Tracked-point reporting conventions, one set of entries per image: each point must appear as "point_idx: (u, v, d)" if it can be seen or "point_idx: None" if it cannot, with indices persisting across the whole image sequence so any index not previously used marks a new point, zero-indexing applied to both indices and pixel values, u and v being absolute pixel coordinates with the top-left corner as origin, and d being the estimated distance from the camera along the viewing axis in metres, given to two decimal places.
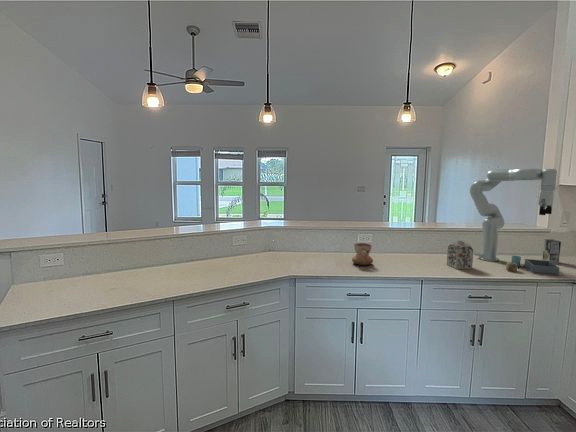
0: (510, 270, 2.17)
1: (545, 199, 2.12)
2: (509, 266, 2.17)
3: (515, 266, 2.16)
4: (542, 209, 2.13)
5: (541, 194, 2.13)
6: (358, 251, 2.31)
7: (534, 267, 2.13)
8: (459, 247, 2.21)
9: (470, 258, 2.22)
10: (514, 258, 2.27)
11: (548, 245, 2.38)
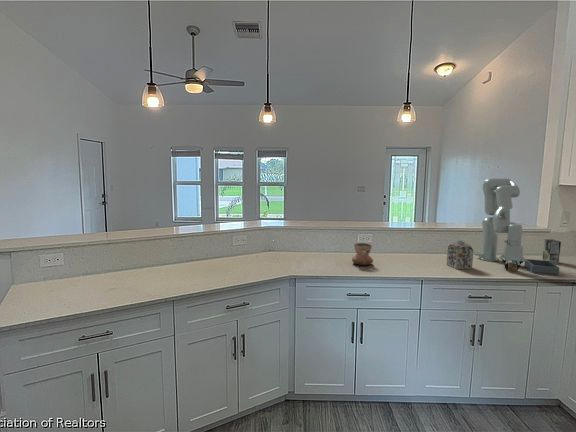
0: (510, 270, 2.17)
1: None
2: (509, 266, 2.17)
3: (515, 266, 2.16)
4: None
5: (522, 250, 2.14)
6: (358, 251, 2.31)
7: (534, 267, 2.13)
8: (459, 247, 2.21)
9: (470, 258, 2.22)
10: None
11: (548, 245, 2.38)
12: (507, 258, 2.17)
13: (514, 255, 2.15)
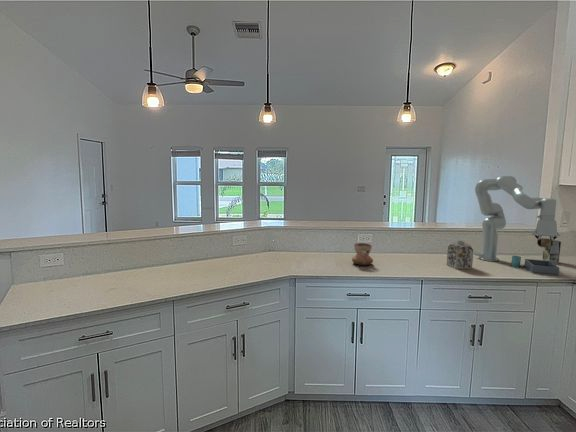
0: (543, 246, 2.12)
1: None
2: (542, 242, 2.12)
3: (549, 241, 2.11)
4: None
5: (556, 224, 2.09)
6: (358, 251, 2.31)
7: (534, 267, 2.13)
8: (459, 247, 2.21)
9: (470, 258, 2.22)
10: (514, 258, 2.27)
11: None
12: (540, 233, 2.12)
13: (548, 230, 2.10)
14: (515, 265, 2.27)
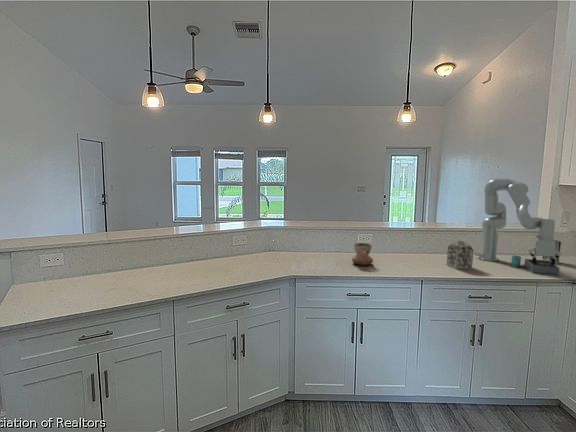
0: None
1: None
2: None
3: None
4: None
5: None
6: (358, 251, 2.31)
7: (534, 267, 2.13)
8: (459, 247, 2.21)
9: (470, 258, 2.22)
10: (514, 258, 2.27)
11: None
12: (539, 254, 2.13)
13: (546, 251, 2.12)
14: (515, 265, 2.27)
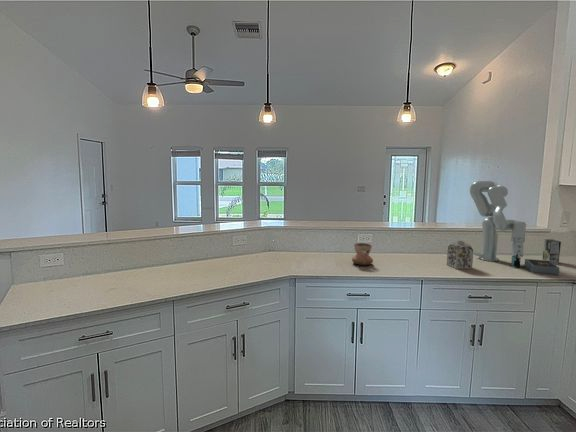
0: None
1: None
2: None
3: None
4: None
5: None
6: (358, 251, 2.31)
7: (534, 267, 2.13)
8: (459, 247, 2.21)
9: (470, 258, 2.22)
10: (513, 258, 2.28)
11: (548, 245, 2.38)
12: (522, 255, 2.24)
13: None
14: None
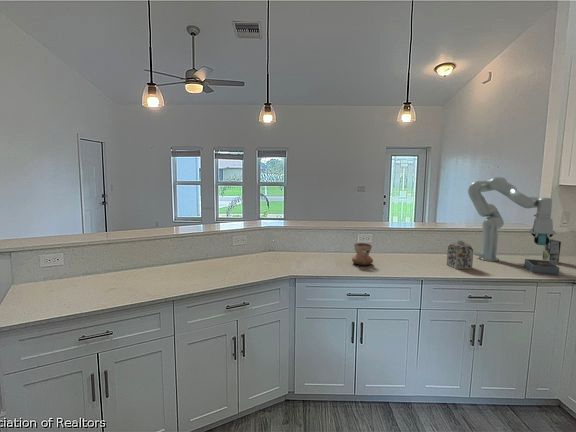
0: None
1: None
2: None
3: None
4: None
5: (552, 223, 2.16)
6: (358, 251, 2.31)
7: (534, 267, 2.13)
8: (459, 247, 2.21)
9: (470, 258, 2.22)
10: None
11: (548, 245, 2.38)
12: (537, 231, 2.19)
13: (544, 228, 2.17)
14: None
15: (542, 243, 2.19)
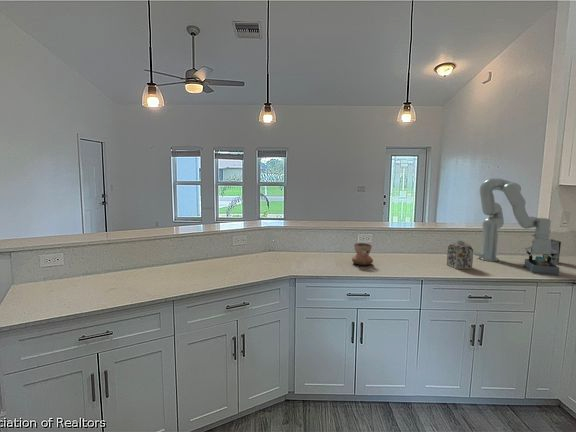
0: None
1: None
2: None
3: None
4: None
5: (550, 243, 2.18)
6: (358, 251, 2.31)
7: (534, 267, 2.13)
8: (459, 247, 2.21)
9: (470, 258, 2.22)
10: None
11: None
12: (535, 252, 2.21)
13: (542, 249, 2.19)
14: None
15: None
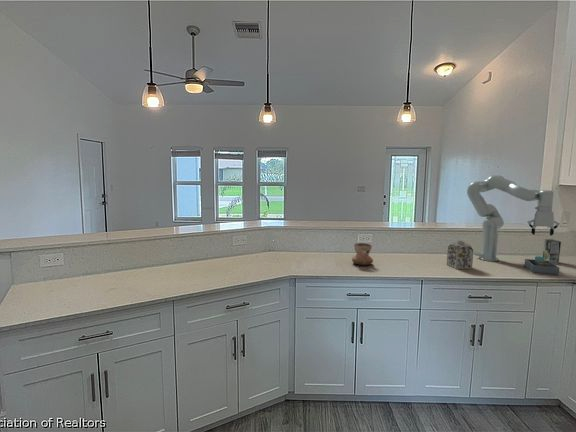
0: None
1: None
2: None
3: None
4: None
5: (553, 215, 2.16)
6: (358, 251, 2.31)
7: (534, 267, 2.13)
8: (459, 247, 2.21)
9: (470, 258, 2.22)
10: None
11: (548, 245, 2.38)
12: (538, 224, 2.18)
13: (545, 221, 2.17)
14: None
15: None
